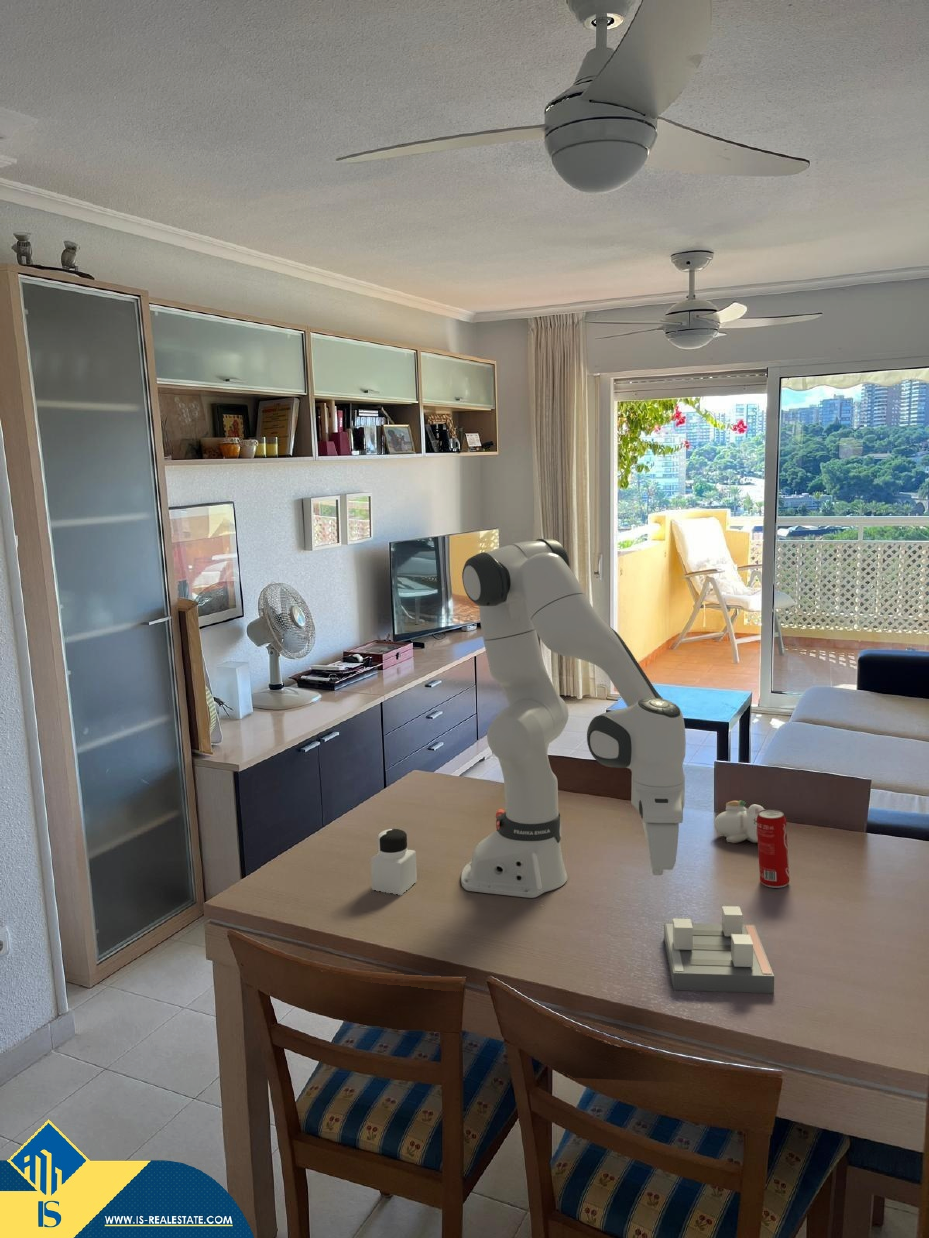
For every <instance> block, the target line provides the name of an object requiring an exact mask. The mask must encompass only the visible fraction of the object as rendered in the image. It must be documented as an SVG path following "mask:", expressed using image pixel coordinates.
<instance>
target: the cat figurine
mask: <svg viewBox="0 0 929 1238" xmlns="http://www.w3.org/2000/svg"><path fill="white" fill-rule="evenodd" d="M762 810H766V809H765V808H764V807H763V806H761V805H759V804H751V805H750V806H749V807H746V801H743V800H731V801H728V802H726V804H725V811H722V812H721V813H719V814H718V815H717V816H716V817H715V819H714V822H713V823H714V824H713V825H714V826H713V827H714V828H715V830H716V832H717V833H719V834H720V835H721V836H724V838H726V839H725V841H726V842H727V843H728V842H732V843H731V844H737V843H741V842H743V841H745V840H747V841H750V842H751V843H757V844H758V837H757V820H756V819H757V817H758V812H759V811H762Z"/></svg>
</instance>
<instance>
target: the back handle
mask: <svg viewBox="0 0 929 1238" xmlns="http://www.w3.org/2000/svg"><path fill="white" fill-rule="evenodd" d="M721 924H722V929H723V932H724V935H725V936H731V934H742V925H743V913H742V909H741V907H740V906H728V905H727V906H726V905H724V906H723V905H722V906H721Z"/></svg>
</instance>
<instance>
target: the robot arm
mask: <svg viewBox="0 0 929 1238" xmlns="http://www.w3.org/2000/svg"><path fill="white" fill-rule="evenodd" d="M570 567H571V564H570V559H569V555H568V553H567V551H566V549H565V548H564V546H563V545H562V544H561V542H560V541H557V540H555V539H552V538H537V539H536V540H528V541H520V542H514V543H511V544H510V543H509V544H508V545H505V546H501V547H498V548H494V549H493V550H489V551H485V552H484V551H481V552H479V553H477V554H475V555H473V556H471V557H470V558H467V560H466V561H465V564H464V565H463V569H462V571H461V573H462V574H461V579H462V585H463V589H464V591H465V594H466V596H467V597H468V598H469V601H471V602H472V603H474V604H475V605H476V606H478V609H479V622H480V628H481V634H482V638H483V639H482V640H483V643H484V648H485V653H486V658H487V661H488V667H489V672H490V675H491V676H492V678H493V680H494V681H496V682H497V683H498V684H499V686H500V687H501V689H502V690H503V694H505V697H506V699H507V703H508V706H507V707H506V708H504V709H502V710H501V711H500V712H499V713H498V714H497V715H496V716H495V718H493V720H492V722H491V723H490V725H489V727H488V729H487V733H486V738H487V744H488V747H489V749H490V751H491V752H492V754H494V756H495V757H497V758H498V762H499V766H500V768H501V773H502V777H503V784H504V803H505V810H504V809H503V808H499V809H497V810H496V812H495V818H496V820H495V826H496V827H495V828H496V830H495V831H493V832H492V833H491V834H489V835H488V836H486V837H485V838H484V839H482V840H480V842H479V843H478V844H477V845H476V847H475V848H474V851H473V853H472V857H471V861H470V862H468V863H466V865H465V866H464V867H463V869H462V872H461V878H460V883H461V884H460V885H461V887H462V888H463V889H464V890H466V891H467V892H476V893H477V892H478V893H485V894H492V895H494V894H495V895H502V896H509V897H510V896H511V897H520V898H521V897H522V898H529V899H534V898H537V897H539V896H541V895H542V894H544V893H546V892H550V891H553V890H556V889H558V888H560V887H562V886H563V885H565V883H566V882H567V881H568V874H567V870H566V867H565V863H564V860H563V859H564V858H563V854H562V848H561V840H562V819H561V813H560V812H559V796H558V795H559V794H558V793H559V788H558V786H559V785H558V778H557V775H556V774H555V773H554V772H553V770H552V767H551V764H550V760H549V755H548V752H549V751H548V750H549V746H550V744H551V743H552V742H553V741H555V740H556V739H557V738H559V737H560V736H561V735H562V733H563V731H564V729H565V728H566V725H567V723H568V721H569V709H568V705H567V703H566V701H565V700H564V699H563V697H561V696H560V695H559V694H558V693H557V691H556V689H555V687H554V685H553V682H552V681H551V678H550V675H549V674H548V671H547V667H546V666H545V663H544V659H543V655H542V649H541V646H540V641H541V642H542V643H543V644H544V646H545V647H546V648H547V650H550V651H551V652H553V653H556V654H557V655H558V656H563V657H566V658H572V659H577V660H581V661H585V662H587V663H590V664H593V665H595V666H597V668H599V669H601V670H603V672H604V673H605V674H606V676H608V678H609V680H610V681H611V683H612V685H613V686H614V687H615V689H616V691H617V693H618V695H620V697H621V699H622V700H623V702H624V703H625V706H626V707H623V708H618V709H613V710H610V711H606V712H604V713H600V714H599V715H596V716H595V717H593V718H592V719H591V721H590V722H589V725H588V726H587V731H586V743H587V746H588V747H587V748H588V750H589V752H590V754H591V756H592V757H593V758H594V759H595V761H596V762H598V763H599V764H600V765H602V766H605V767H608V768H617V769H624V768H625V769H626V768H627V769H629V770H630V771H631V800H630V802H631V805H632V806H633V808H635V809H636V811H637V812H638V814H639V815H640V817H641V821H642V822H641V824H642V827H643V831H644V836H645V842H646V845H647V851H648V855H649V859H650V869H651V872H652V875H654V876H663V875H664V871H667V870H669V871H671V870H673V869H674V868H675V865H676V861H677V853H678V843H679V832H680V830H679V829H680V824H682V823H683V821H684V808H685V800H686V799H685V798H686V797H685V796H686V795H685V794H686V791H685V790H686V775H685V773H684V760H685V758H686V749H687V748H686V746H687V745H686V739H687V738H686V726H685V720H684V716H683V713H682V710H681V708H680V707H679V706H678V705H677V704H675V703H674V702H672V701H670V700H668V699H666V698H665V699H664V698H663V696H661V695H660V694H659V693H658V691H657V689H655V687H654V685H653V684H652V682H651V680H650V679H649V677H648V676H647V675H646V673H645V672H644V670H643V669H642V667H641V666H640V663H639V662H638V660H637V659H636V658H635V656H634V655H633V653H632V651H631V649H630V648H629V647H628V646H627V643H626V642H625V641H624V639H623V638H622V637H621V636H620V635H619V633H618V632H617V631H616V630H615V629H613V628H612V627H611V626H609V625H608V624H607V623H606V622H605V621H604V620H603V619H602V618H601V616H600V615H599V614H598V613H597V611H596V610H595V608H594V607H593V606H592V604H591V602H590V601H589V598H588V597H587V595H586V593H585V591H584V589H583V587H582V585H581V584H580V582H579V580H578V579H577V576H575V574H574V573H573V571H572V570H571V568H570ZM539 639H540V641H539Z"/></svg>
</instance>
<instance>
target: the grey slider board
mask: <svg viewBox="0 0 929 1238" xmlns="http://www.w3.org/2000/svg"><path fill="white" fill-rule="evenodd" d="M691 923H692V922H691ZM692 927H693V950H682V949H675V948H674V943H673V922H663V939H664V944H665V951H666V956H667V962H668V969H669V974H670V979H671V984H672V989H673V991H696V992H697V991H698V992H700V991H701V992H726V993H729V992H730V993H731V992H732V993H755V994H757V993H758V994H775V974H774V972H773V969H772V967H771V965H770V962H769V958H768V957H767V956H768V955H767V953H766V951H765V949H764V946H763V944H762V943H763V942H762V940H761V938H760V936H759V933H758V931H757V928H756V925H755V924H742V934H746V935H750V937H751V940H752V942H753V967H737V966H734V964H733V961H732V958H731V936H725V935H724V932H723V929H722V923H692Z"/></svg>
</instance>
